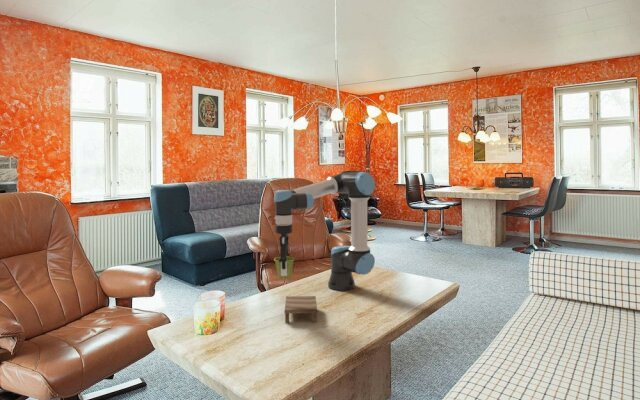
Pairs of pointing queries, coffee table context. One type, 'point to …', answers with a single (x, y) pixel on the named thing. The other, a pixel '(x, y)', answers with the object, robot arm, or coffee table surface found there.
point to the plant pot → (289, 267)
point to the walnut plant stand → (300, 306)
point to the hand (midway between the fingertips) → (284, 272)
